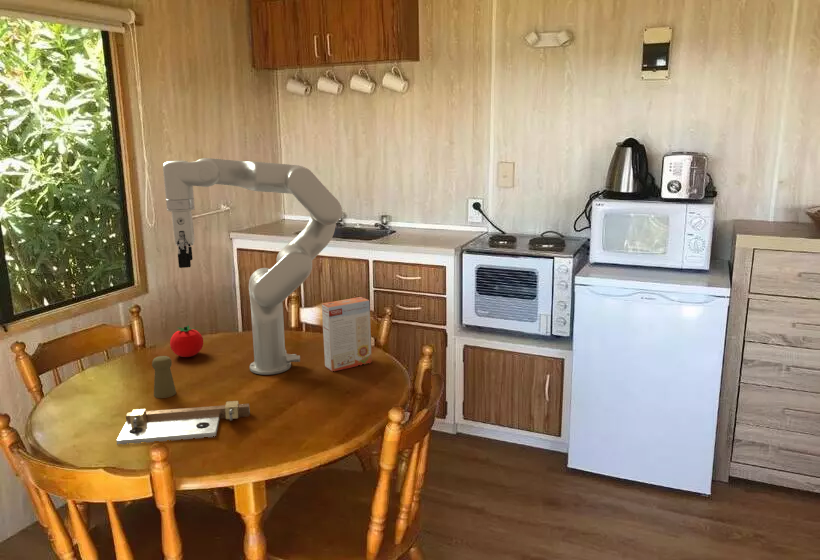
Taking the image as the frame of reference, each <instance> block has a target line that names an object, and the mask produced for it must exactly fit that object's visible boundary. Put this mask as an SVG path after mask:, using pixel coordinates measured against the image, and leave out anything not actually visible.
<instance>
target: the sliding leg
mask: <svg viewBox="0 0 820 560" xmlns="http://www.w3.org/2000/svg"><path fill="white" fill-rule="evenodd" d="M239 404H240V403H239V400H232V401H231V400H229V401H225V405H226V406H225V413H226V418H225V419H226V420H229V421H233V419H239V417H238V416H239Z"/></svg>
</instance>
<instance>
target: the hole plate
mask: <svg viewBox="0 0 820 560" xmlns="http://www.w3.org/2000/svg"><path fill="white" fill-rule="evenodd" d="M238 404H239V416H238V418H243V417H250V415H251V414H250V413H251V411H250V410H251V409H250V403H241V404H240V403H238ZM225 406H226V404H223V405H213V406H212V405H211V406H201V407H200V406H198V407H185V408H172V409H171V408H169V409H159V410H157V409H156V410H147V409H146V408H140V409H139V408H136V409H132V411H130V412H127V413H126V415H125V418H126V419H125V420H126V422H125V424H124V425H123V427H122V429H121V431H120V433H119V435H118V436H117V439H116V445H117V446H119V445H118V444H122V445H130V444H129V443H134V444H142V443H141V442H146V443H155V442H154V441H159V442H167V440H169V441H168V442H170V440H171V441H181V439H183V440H194V439H193V438H195V439H204V437H208V438H216V437H217V432H218V429H219V426H220V425H219V423H220V420H221V419H226V413H225ZM213 436H214V437H213ZM215 436H216V437H215ZM127 443H128V444H127Z"/></svg>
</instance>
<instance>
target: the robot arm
mask: <svg viewBox="0 0 820 560" xmlns="http://www.w3.org/2000/svg"><path fill="white" fill-rule="evenodd" d="M162 172H163V174H162V175H163V182H164V184H163V185H164V192H165V203H166V205H165V206H166V211H167V212H171V219H172V220H171V221H172V230H173V237H174V244H175V246H177V260H178V262H177V263H178V267H179V268H181V269H182V268H183V269H185V268H191V266H192V264H191V261H192V260H193V250H192V249H193V248H192V246H193V245H194V244H195V232H194V231H195V230H194V221H193V214H192V211H194V210H195V209H196V208H195V198H194V197H195V196H194V187H202V188H204V187H205V188H209V187H212V186H214V185H221V186H223V185H224V186H232V187H233V186H234V187H238V188H243V189H246V190H247V191H248V190H249V191H252V192H262V193H277V194H278V193H279V194H290V195H293V196H294V197H295V198H296V200H297V201H298V202H299V203H300V204H301V205H302V206H303V207H304V208H305V210H307V211H308V212H309V219H308V222H307V224H306V226H305V227H304V228H303V229H302V230H301V231H300V232H299V233H298V234H297V235H296V236H295V237H294V238H293V239H292V240H291V241H290V242H289V243H288V244H286V245H285V246H284V247H282V248H281V249H280V250H279V252H278V253H277V256H276V263H275V264H274V265H273V266H272V267H271V268H269V267H261V268H258V269H256V270H255V271H253V273H252V274H251V275H250V277H249V280H248V291H249V292H248V295H249V301H250V311H251V313H250V314H251V330H252V332H251V333H252V345H253V357H254V358H253V360H254V361H253V362H251V363H250V364H249V371H250V372H251V373H253V374H257V375H264V376H270V375H278V374H281V373H284V372H286V371H288V370H290V369H291V367H292V363H293V362H294V363H300V362H301V355H297V353H292V354H291V353H287V349H286V346H285V345H286V344H285V323H284V307H283V306H284V305H283V301H286V299H287V298H288V297H289V296H290V295H291V294H293V292H295V291H296V290H297V289H298V288H299V287H300V286H301V285H302V284H303V283H304V282H305V281H306V280H307V279H308V277H309V276H310V275H311V273H312V269H313V260H314V259H316V257H317V256H318V255H319V254H320V253H321V252H322V251H323V250H324V249H325V248H326V247H327V246H328V244H329V243H330V242H331V240H332V238H333V236H334V234H335V231H336V226H337V222H339V220H341V217H342V214H343V207H342V205H341V203H340V201H339V200H338V198H336V197H335V196H334V194H333V193H331V192H330V190H329V189H328V188H327V187H326V185H324V184H323V183H322V182H321V180H320V179H318V177H317V176H316V175H315V174H314V172H312V171H311V170H310V169H309V168H307V167H304V166H302V165H297V164H286V163H276V162H275V163H274V162H264V161H263V162H262V161H255V160H254V161H252V160H250V161H249V160H248V161H246V160H245V161H243V160H234V159H233V160H232V159H221V158H220V159H219V158H211V157H210V158H209V157H203V158H199V159H197V160H196V161H188V160H169V161H165V162H164V163H163V165H162Z"/></svg>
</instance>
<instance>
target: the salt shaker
mask: <svg viewBox="0 0 820 560" xmlns="http://www.w3.org/2000/svg"><path fill="white" fill-rule="evenodd" d="M172 363H173V362H172V359H171V358H170V356H167V355H160V356H156V357H154V358H153V360H152V362H151V366H152V368H153V370H154V382H153V383H154V384H153V397H154V398H156V399H165V398H171V397H173V396H175V395H176V394H177V390H176V387H175V386H176V385H175V382H174V378H173V374H172V369H171V367H172V365H173V364H172Z"/></svg>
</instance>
